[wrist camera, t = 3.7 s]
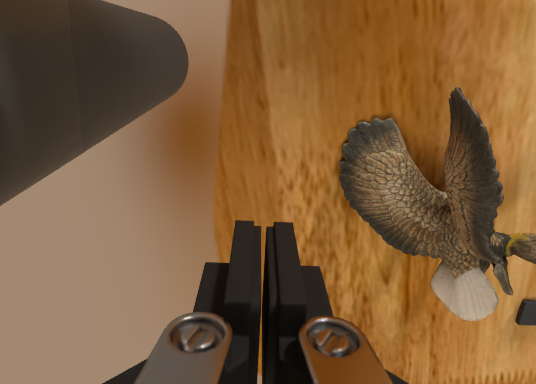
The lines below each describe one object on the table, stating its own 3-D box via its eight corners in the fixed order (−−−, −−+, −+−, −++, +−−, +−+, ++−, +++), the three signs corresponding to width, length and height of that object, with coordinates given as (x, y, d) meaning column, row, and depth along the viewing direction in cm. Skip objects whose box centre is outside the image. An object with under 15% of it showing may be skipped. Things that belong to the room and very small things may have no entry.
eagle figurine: (573, 163, 19) (464, 39, 15) (629, 309, 14) (496, 186, 11) (428, 218, 24) (321, 137, 20) (437, 337, 20) (304, 261, 16)
